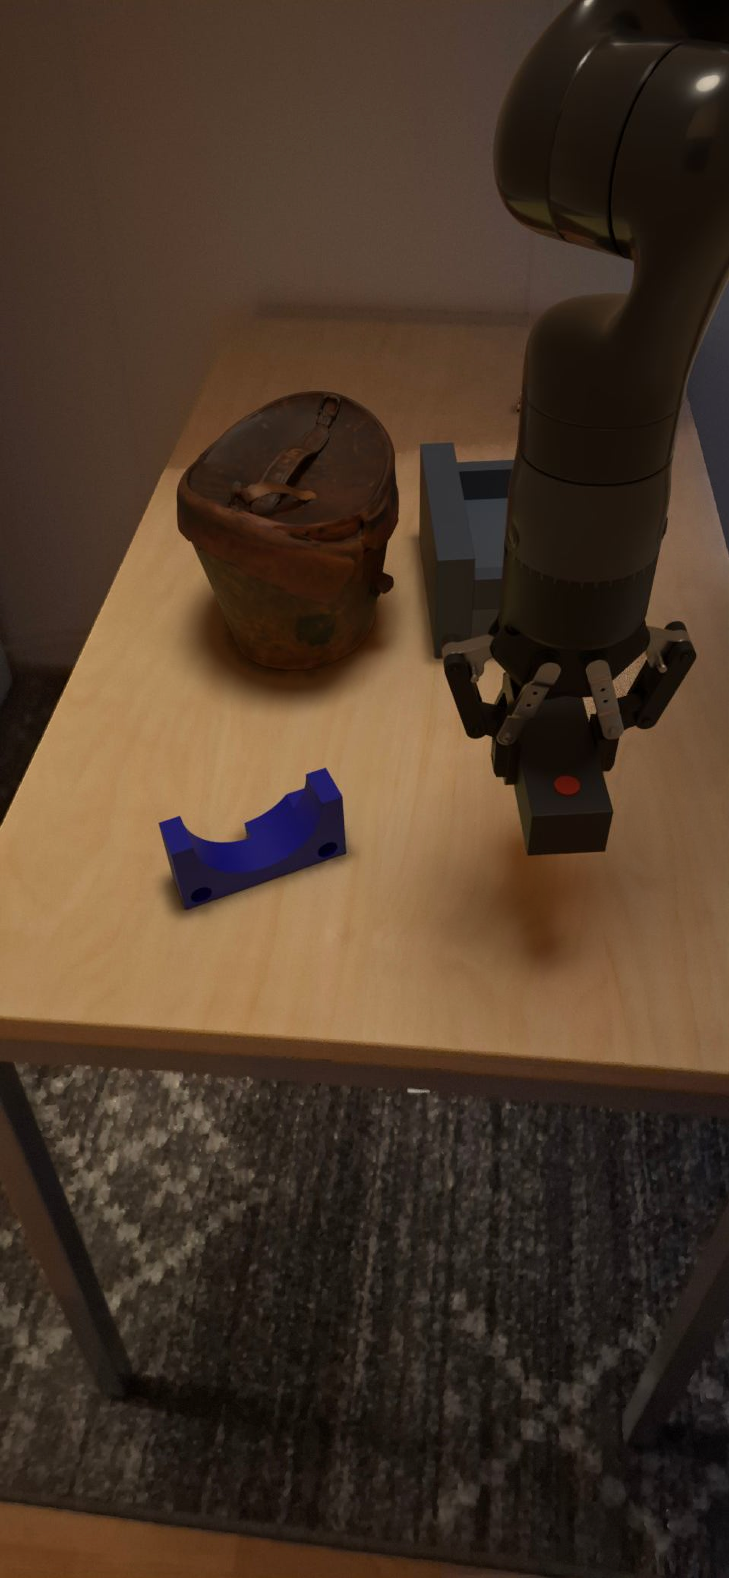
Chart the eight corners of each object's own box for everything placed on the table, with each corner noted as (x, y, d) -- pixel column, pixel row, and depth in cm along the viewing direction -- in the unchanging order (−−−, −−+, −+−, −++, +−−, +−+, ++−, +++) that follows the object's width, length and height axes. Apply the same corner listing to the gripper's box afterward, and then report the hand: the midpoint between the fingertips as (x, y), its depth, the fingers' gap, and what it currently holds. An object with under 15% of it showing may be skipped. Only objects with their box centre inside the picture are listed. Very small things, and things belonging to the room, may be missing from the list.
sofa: (552, 532, 101) (564, 437, 94) (586, 651, 89) (602, 552, 82) (419, 538, 101) (420, 443, 94) (434, 658, 89) (437, 560, 82)
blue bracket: (322, 810, 77) (317, 753, 73) (346, 852, 75) (342, 796, 70) (167, 863, 74) (152, 807, 70) (185, 909, 72) (171, 854, 67)
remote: (568, 709, 68) (575, 665, 65) (605, 852, 59) (614, 809, 57) (499, 712, 68) (503, 669, 65) (526, 856, 59) (532, 813, 57)
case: (205, 717, 85) (168, 527, 72) (194, 573, 98) (161, 391, 85) (421, 689, 86) (424, 498, 73) (380, 552, 100) (377, 370, 87)
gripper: (709, 481, 53) (653, 723, 66) (429, 496, 53) (427, 736, 66) (752, 568, 48) (682, 812, 61) (443, 585, 48) (437, 826, 61)
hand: (549, 771), depth 63 cm, fingers closed on remote, 4 cm apart
